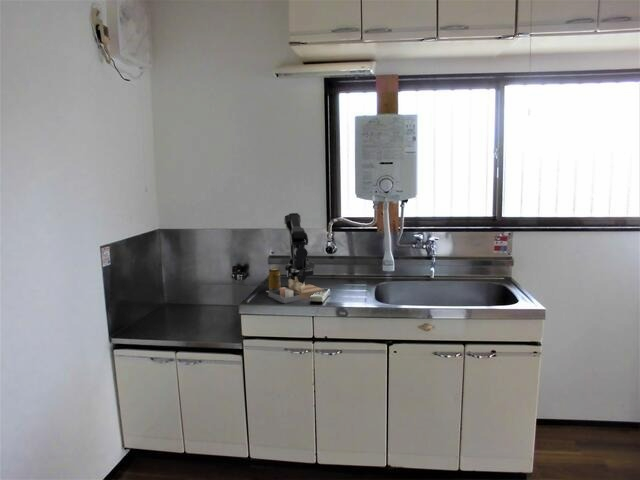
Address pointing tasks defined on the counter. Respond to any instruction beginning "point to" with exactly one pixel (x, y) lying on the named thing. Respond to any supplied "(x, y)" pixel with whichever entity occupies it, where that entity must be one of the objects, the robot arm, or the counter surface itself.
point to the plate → (307, 291)
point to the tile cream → (288, 293)
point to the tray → (281, 299)
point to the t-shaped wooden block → (296, 285)
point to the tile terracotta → (282, 291)
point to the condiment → (274, 279)
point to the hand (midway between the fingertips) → (299, 286)
